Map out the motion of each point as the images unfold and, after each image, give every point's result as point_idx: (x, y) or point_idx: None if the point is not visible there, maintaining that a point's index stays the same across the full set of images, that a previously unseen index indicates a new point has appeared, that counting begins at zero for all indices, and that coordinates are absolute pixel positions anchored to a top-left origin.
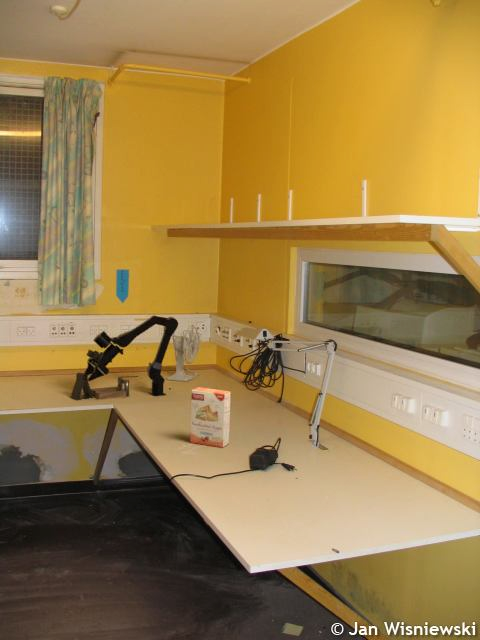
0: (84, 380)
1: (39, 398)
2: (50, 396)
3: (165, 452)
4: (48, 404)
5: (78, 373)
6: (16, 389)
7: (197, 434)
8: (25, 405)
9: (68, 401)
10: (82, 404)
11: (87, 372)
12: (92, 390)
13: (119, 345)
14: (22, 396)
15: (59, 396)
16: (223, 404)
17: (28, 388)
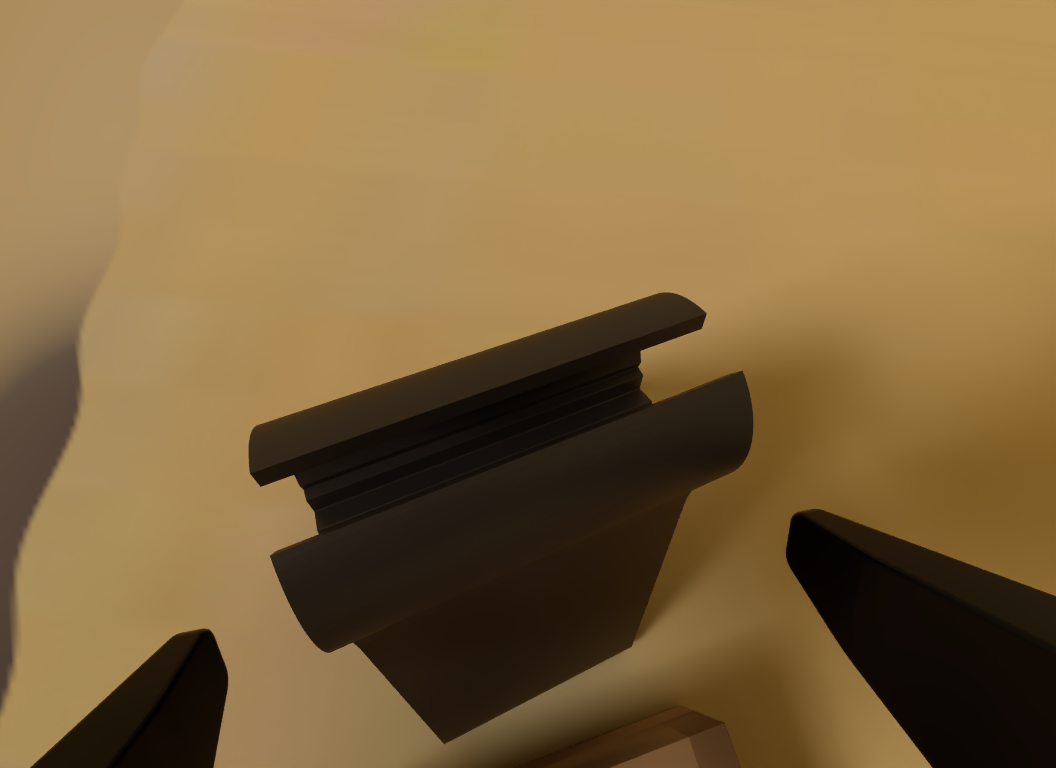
0: (318, 532)
1: (544, 122)
2: (624, 212)
3: None
4: (245, 159)
5: (616, 319)
6: (900, 27)
7: None
8: (281, 9)
9: (323, 356)
10: (55, 519)
11: (966, 688)
12: (626, 756)
13: None
14: (642, 30)
15: (616, 290)
16: None
17: (955, 96)
